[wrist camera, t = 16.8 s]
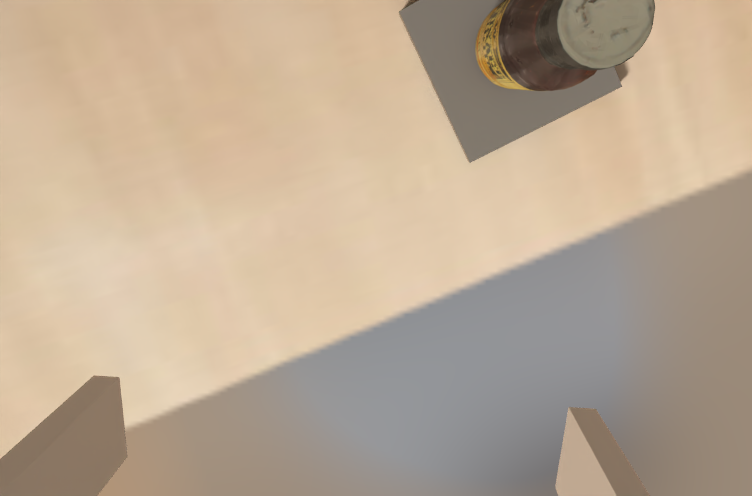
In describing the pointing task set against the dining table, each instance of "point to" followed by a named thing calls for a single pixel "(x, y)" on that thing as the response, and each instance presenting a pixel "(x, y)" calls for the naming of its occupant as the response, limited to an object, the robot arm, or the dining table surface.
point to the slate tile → (485, 78)
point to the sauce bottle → (559, 40)
